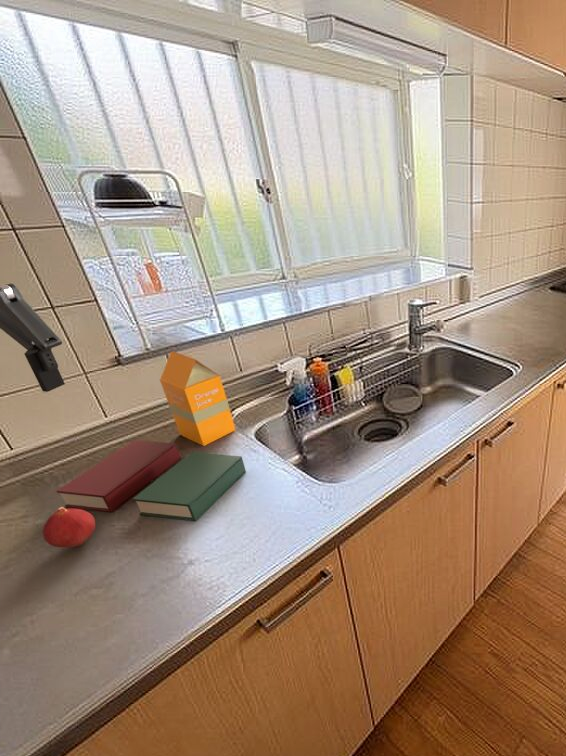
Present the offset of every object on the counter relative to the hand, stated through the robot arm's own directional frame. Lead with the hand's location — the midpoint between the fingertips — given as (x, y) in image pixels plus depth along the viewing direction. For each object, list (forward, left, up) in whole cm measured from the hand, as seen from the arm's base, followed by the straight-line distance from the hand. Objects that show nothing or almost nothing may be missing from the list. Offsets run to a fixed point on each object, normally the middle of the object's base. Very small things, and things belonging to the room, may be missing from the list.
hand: (13, 383), depth 67 cm
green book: (+20, +5, -24) cm, 32 cm away
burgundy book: (+5, +6, -24) cm, 26 cm away
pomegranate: (+10, -9, -25) cm, 28 cm away
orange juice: (+8, +24, -25) cm, 35 cm away
